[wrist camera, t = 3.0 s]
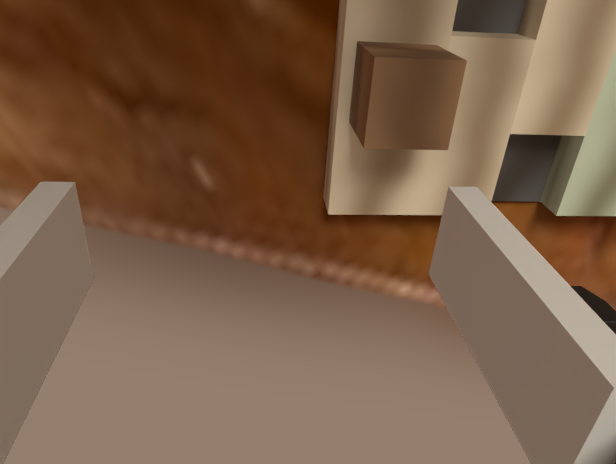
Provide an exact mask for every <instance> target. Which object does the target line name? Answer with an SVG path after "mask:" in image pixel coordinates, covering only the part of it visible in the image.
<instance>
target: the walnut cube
mask: <svg viewBox="0 0 616 464" xmlns="http://www.w3.org/2000/svg"><path fill="white" fill-rule="evenodd" d="M466 64H467V60H465V59H463V58H461V57H459V56H457V55H455V54H453V53H451V52H449V51H447V50H445V49H443V48H442V47H440V46H438V45H429V44H408V43H387V42H365V41H357V47H356V57H355V67H354V76H353V86H352V96H351V106H350V116H349V123H350V125H351V126H352V128H353V130H354V132H355V134H356V135H357V137H358V139H359V141H360V143H361V145H362V146H363V148H364V149H410V150H448V148H449V143H450V138H451V134H452V129H453V124H454V120H455V115H456V110H457V106H458V101H459V96H460V92H461V87H462V82H463V78H464V73H465V68H466Z"/></svg>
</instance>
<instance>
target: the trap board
mask: <svg viewBox="0 0 616 464" xmlns="http://www.w3.org/2000/svg"><path fill="white" fill-rule="evenodd" d="M357 41H365V42H387V43H408V44H429V45H438V46H440V47H442V48H443V49H445V50H447V51H449V52H451V53H453V54H455V55H457V56H459V57H461V58H463V59H465V60H467V64H466V68H465V73H464V78H463V82H462V87H461V92H460V96H459V101H458V106H457V110H456V115H455V120H454V124H453V129H452V134H451V138H450V143H449V148H448V150H410V149H364V148H363V146H362V145H361V143H360V141H359V139H358V137H357V135H356V134H355V132H354V130H353V128H352V126H351V125H350V123H349V116H350V106H351V96H352V86H353V76H354V67H355V57H356V47H357ZM448 186H453V187H477V188H478V189H479V190H480V191H481V192H482V193H483V194H484V195H485V196H486V197H487V198H488V199H489V200H490V201H527V202H541V203H542V204H543V205H544V206H546V207H547V208H548V209H549V210H550V211H551V212H552V213H554V214H555V215H556V216H616V0H340V1H339V13H338V26H337V38H336V50H335V62H334V74H333V87H332V99H331V111H330V123H329V135H328V148H327V160H326V172H325V184H324V196H323V198H324V202H325V205H326V209H327V212H328V215H442V213H443V208H444V204H445V199H446V195H447V190H448Z"/></svg>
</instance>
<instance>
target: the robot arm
mask: <svg viewBox="0 0 616 464" xmlns="http://www.w3.org/2000/svg"><path fill="white" fill-rule="evenodd" d="M429 276H430V277H431V279H432V281H433V283H434V285H435V287H436V289H437V290H438V292H439V294H440V296H441V298H442V300H443V302H444V303H445V305H446V307H447V309H448V311H449V313H450V315H451V316H452V318H453V320H454V322H455V324H456V326H457V328H458V329H459V331H460V333H461V335H462V337H463V338H464V341H465V342H466V344H467V346H468V348H469V350H470V352H471V353H472V355H473V357H474V359H475V361H476V363H477V365H478V367H479V368H480V370H481V372H482V374H483V376H484V378H485V380H486V381H487V383H488V385H489V387H490V389H491V391H492V393H493V394H494V396H495V398H496V400H497V402H498V403H499V406H500V407H501V409H502V411H503V413H504V415H505V417H506V419H507V420H508V422H509V424H510V426H511V428H512V430H513V431H514V433H515V435H516V437H517V439H518V441H519V443H520V444H521V446H522V448H523V450H524V452H525V454H526V456H527V457H528V459H529V461H530V463H531V464H616V311H615V310H614V309H613V308H612V307H611V306H610V305H609V304H608V303H607V302H606V301H604V300H603V299H601V298H599V297H598V296H596V295H594V294H593V293H591V292H590V291H588V290H586V289H585V288H583V287H582V286H570V285H569V284H568V283H567V282H566V281H565V280H564V279H563V278H562V277H561V276H560V275H559V274H558V273H557V271H556V270H555V269H554V268H553V267H552V266H551V265H550V264H549V263H548V262H547V261H546V260H545V259H544V258H543V257H542V256H541V254H540V253H539V252H538V251H537V250H536V249H535V248H534V247H533V246H532V245H531V244H530V243H529V242H528V241H527V240H526V239H525V237H524V236H523V235H522V234H521V233H520V232H519V231H518V230H517V229H516V228H515V227H514V226H513V225H512V224H511V223H510V222H509V220H508V219H507V218H506V217H505V216H504V215H503V214H502V213H501V212H500V211H499V210H498V209H497V208H496V207H495V206H494V205H493V203H492V202H491V201H490V200H489V199H488V198H487V197H486V196H485V195H484V194H483V193H482V192H481V191H480V190H479V189H478V188H477V187H453V186H448V190H447V195H446V199H445V204H444V208H443V213H442V217H441V222H440V226H439V231H438V236H437V240H436V245H435V249H434V254H433V258H432V263H431V267H430V272H429ZM93 279H94V274H93V269H92V264H91V259H90V254H89V249H88V244H87V239H86V234H85V229H84V224H83V219H82V214H81V209H80V204H79V199H78V194H77V189H76V184H75V182H40V183H39V184H38V185H37V186H36V187H35V188H34V190H33V191H32V192H31V193H30V194H29V195H28V196H27V197H26V198H25V199H24V200H23V202H22V203H21V204H20V205H19V206H18V207H17V208H16V209H15V210H14V211H13V212H12V213H11V215H10V216H9V217H8V218H7V219H6V220H5V221H4V222H3V223H2V224H1V226H0V464H4V462H5V460H6V458H7V456H8V453H9V451H10V449H11V447H12V445H13V443H14V441H15V439H16V437H17V435H18V433H19V431H20V429H21V427H22V425H23V423H24V420H25V419H26V417H27V415H28V412H29V410H30V408H31V406H32V404H33V402H34V400H35V398H36V396H37V394H38V392H39V390H40V388H41V386H42V384H43V382H44V380H45V377H46V375H47V374H48V372H49V369H50V367H51V365H52V363H53V361H54V359H55V357H56V355H57V353H58V351H59V349H60V347H61V345H62V343H63V341H64V339H65V336H66V335H67V332H68V330H69V328H70V326H71V324H72V322H73V320H74V318H75V316H76V314H77V312H78V310H79V308H80V306H81V304H82V302H83V300H84V298H85V296H86V293H87V291H88V289H89V287H90V285H91V283H92V281H93Z"/></svg>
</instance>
